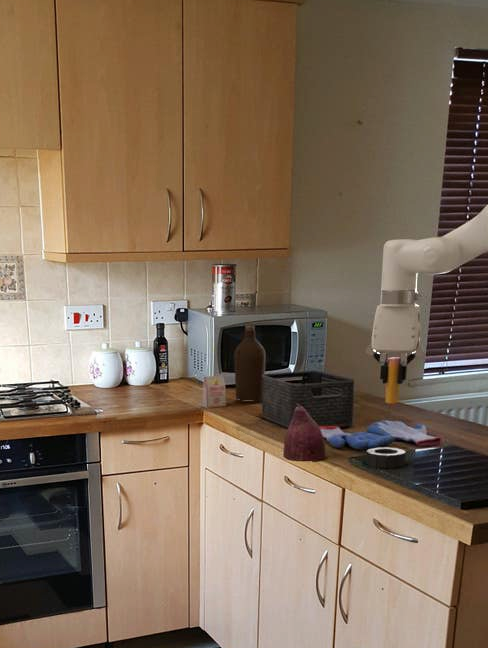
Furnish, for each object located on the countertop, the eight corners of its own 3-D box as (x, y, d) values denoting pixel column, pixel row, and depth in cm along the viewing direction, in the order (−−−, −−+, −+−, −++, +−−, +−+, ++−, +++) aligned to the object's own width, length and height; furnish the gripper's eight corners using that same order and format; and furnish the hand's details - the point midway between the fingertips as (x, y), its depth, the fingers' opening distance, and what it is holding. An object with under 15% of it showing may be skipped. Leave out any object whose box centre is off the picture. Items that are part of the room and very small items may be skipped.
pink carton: (202, 406, 293) (202, 376, 289) (221, 404, 294) (221, 374, 291) (206, 408, 289) (206, 377, 286) (225, 406, 291) (225, 376, 288)
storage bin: (258, 416, 271) (258, 372, 267) (316, 412, 276) (317, 369, 272) (294, 432, 245) (295, 384, 241) (357, 427, 250) (359, 380, 245)
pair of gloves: (401, 427, 249) (402, 414, 247) (459, 443, 226) (460, 429, 225) (302, 438, 238) (302, 424, 237) (352, 456, 216) (353, 441, 214)
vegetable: (302, 476, 211) (297, 419, 203) (275, 463, 219) (269, 408, 211) (335, 459, 215) (331, 403, 207) (308, 447, 223) (303, 393, 215)
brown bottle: (260, 404, 293) (261, 327, 285) (230, 403, 297) (230, 327, 289) (268, 399, 302) (269, 324, 294) (239, 398, 306) (239, 324, 298)
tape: (407, 461, 209) (408, 448, 208) (400, 469, 202) (401, 456, 201) (370, 458, 213) (371, 446, 212) (362, 466, 205) (363, 454, 204)
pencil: (398, 401, 201) (401, 357, 198) (396, 403, 199) (399, 359, 195) (386, 401, 202) (389, 357, 199) (384, 403, 200) (387, 358, 196)
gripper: (438, 297, 193) (432, 382, 199) (364, 298, 199) (360, 379, 205) (433, 299, 186) (427, 386, 193) (357, 299, 193) (353, 384, 199)
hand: (392, 382), depth 199 cm, fingers closed on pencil, 2 cm apart
